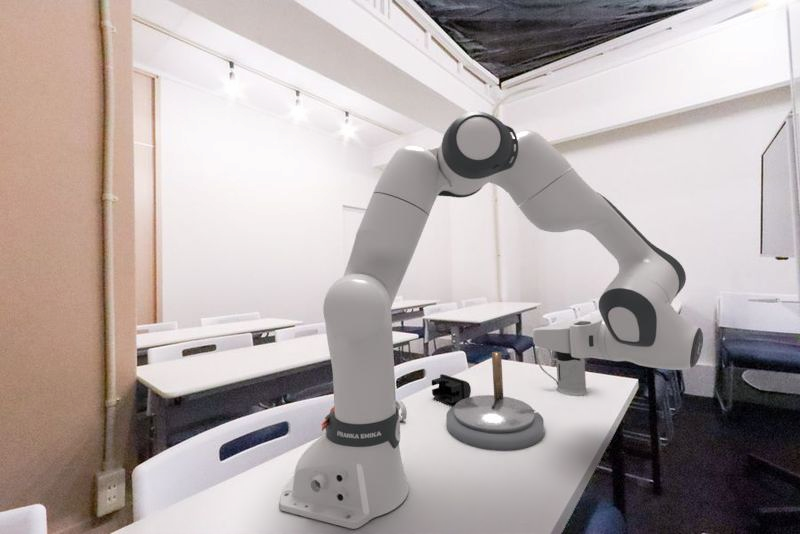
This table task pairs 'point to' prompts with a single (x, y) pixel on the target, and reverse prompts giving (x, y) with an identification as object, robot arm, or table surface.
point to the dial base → (496, 434)
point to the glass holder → (569, 374)
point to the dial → (494, 408)
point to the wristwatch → (403, 409)
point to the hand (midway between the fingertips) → (539, 329)
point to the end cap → (450, 390)
